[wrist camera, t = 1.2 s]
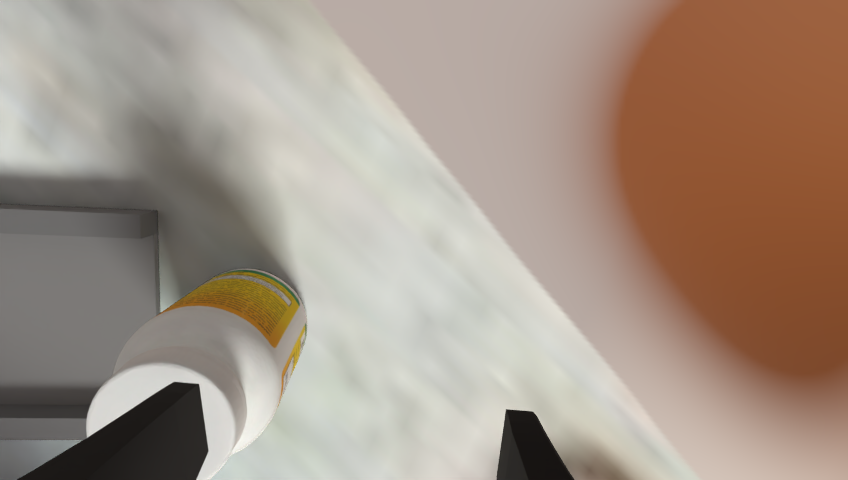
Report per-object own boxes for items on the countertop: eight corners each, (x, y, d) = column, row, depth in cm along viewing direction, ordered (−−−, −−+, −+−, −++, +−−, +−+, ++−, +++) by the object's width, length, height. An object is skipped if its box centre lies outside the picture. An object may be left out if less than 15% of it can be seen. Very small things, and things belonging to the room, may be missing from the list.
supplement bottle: (321, 360, 24) (283, 492, 14) (210, 388, 24) (96, 541, 14) (291, 252, 23) (229, 318, 13) (175, 280, 23) (28, 367, 13)
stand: (163, 421, 24) (147, 440, 22) (-92, 419, 23) (-127, 439, 21) (157, 210, 22) (140, 214, 20) (-117, 198, 21) (-156, 201, 19)
